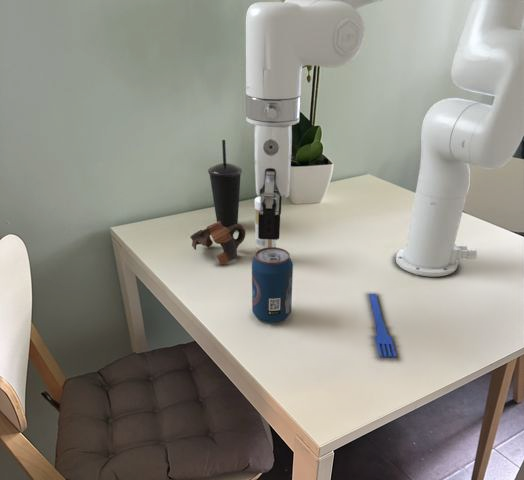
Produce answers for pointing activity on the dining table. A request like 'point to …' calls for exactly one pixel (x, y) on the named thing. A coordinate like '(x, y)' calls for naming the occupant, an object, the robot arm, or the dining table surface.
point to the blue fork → (381, 330)
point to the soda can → (272, 285)
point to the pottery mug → (220, 239)
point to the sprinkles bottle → (259, 242)
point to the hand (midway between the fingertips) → (270, 225)
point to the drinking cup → (225, 190)
